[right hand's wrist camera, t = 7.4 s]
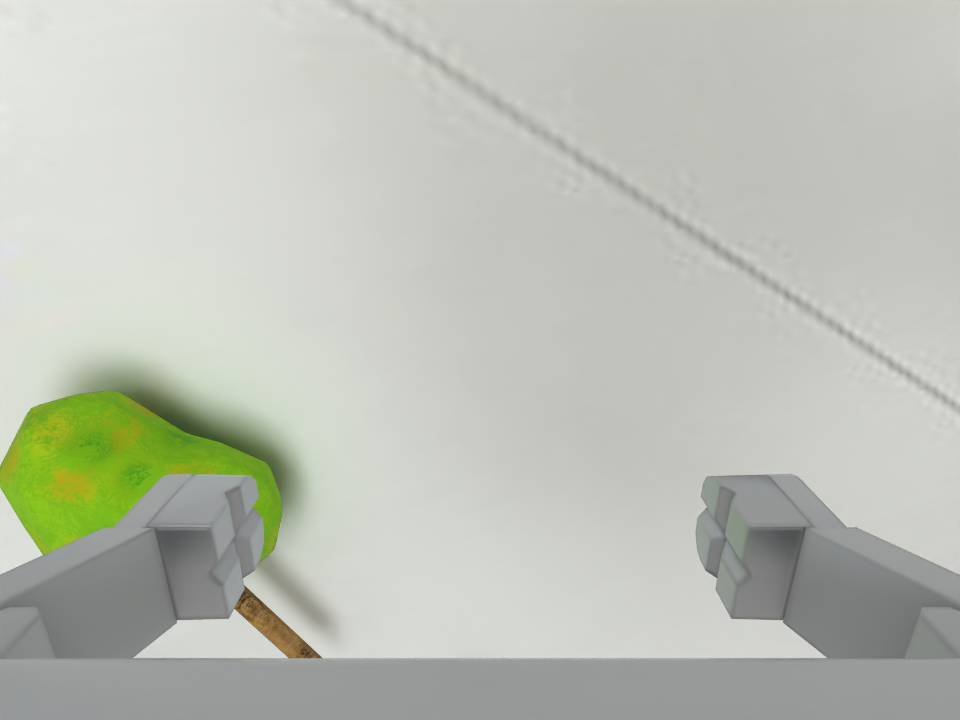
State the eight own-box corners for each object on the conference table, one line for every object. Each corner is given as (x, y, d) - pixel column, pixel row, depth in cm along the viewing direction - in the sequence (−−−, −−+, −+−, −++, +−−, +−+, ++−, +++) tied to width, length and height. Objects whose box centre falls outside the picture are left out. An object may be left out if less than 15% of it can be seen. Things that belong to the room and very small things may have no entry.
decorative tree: (218, 774, 45) (-121, 515, 36) (263, 659, 55) (6, 432, 45) (398, 684, 42) (74, 368, 32) (413, 578, 51) (167, 311, 42)
